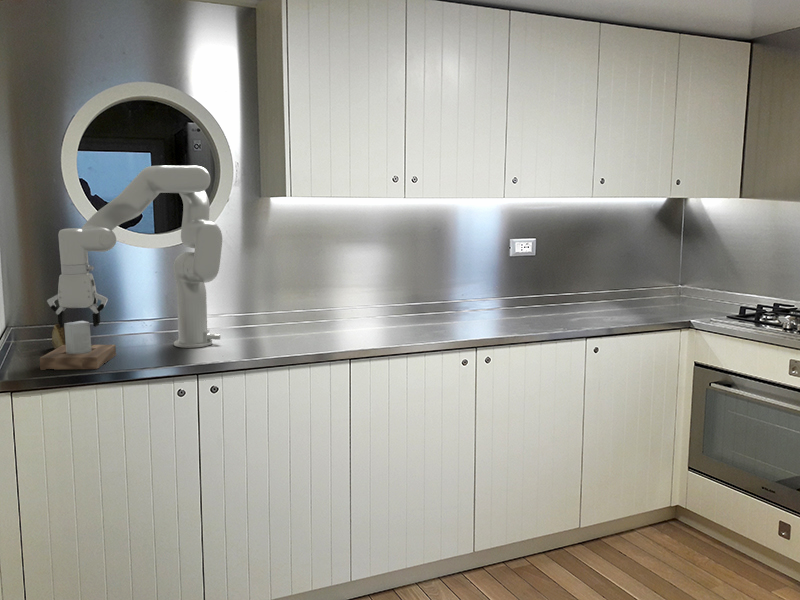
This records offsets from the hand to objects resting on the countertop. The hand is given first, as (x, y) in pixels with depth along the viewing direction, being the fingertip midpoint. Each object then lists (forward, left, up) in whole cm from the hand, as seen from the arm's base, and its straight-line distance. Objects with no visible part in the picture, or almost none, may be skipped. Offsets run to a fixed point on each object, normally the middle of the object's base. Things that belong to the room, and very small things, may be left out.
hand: (79, 326), depth 214 cm
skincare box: (+1, 0, -11) cm, 11 cm away
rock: (+11, -19, -11) cm, 25 cm away
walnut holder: (0, 0, -11) cm, 11 cm away
